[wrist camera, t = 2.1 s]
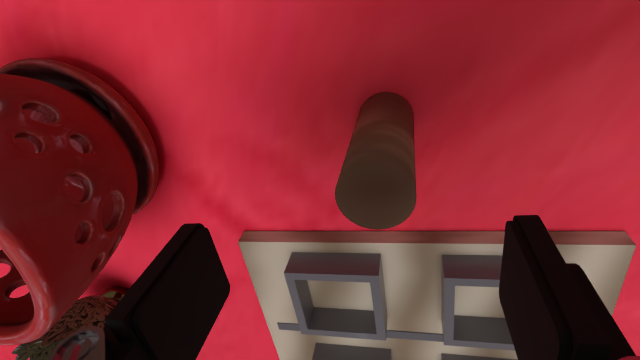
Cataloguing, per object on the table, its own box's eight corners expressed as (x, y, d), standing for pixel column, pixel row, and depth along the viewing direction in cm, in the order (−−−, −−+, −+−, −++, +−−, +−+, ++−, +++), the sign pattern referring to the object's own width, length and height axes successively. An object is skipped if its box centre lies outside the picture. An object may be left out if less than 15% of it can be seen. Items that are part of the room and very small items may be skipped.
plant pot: (48, 200, 30) (-134, 323, 20) (-22, 32, 23) (-360, 89, 13) (195, 230, 28) (76, 381, 18) (168, 56, 21) (-51, 145, 11)
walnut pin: (412, 89, 19) (414, 160, 12) (414, 141, 20) (417, 229, 14) (356, 95, 20) (329, 164, 13) (361, 144, 21) (340, 229, 15)
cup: (170, 325, 36) (116, 410, 29) (108, 318, 37) (43, 396, 31) (143, 270, 32) (73, 353, 25) (75, 265, 34) (-7, 341, 27)
